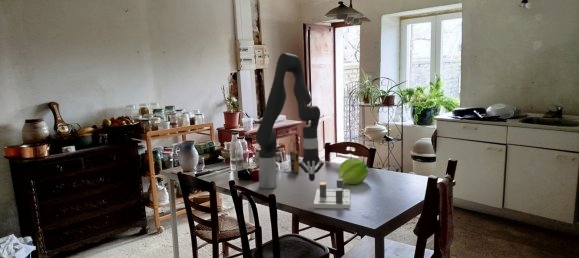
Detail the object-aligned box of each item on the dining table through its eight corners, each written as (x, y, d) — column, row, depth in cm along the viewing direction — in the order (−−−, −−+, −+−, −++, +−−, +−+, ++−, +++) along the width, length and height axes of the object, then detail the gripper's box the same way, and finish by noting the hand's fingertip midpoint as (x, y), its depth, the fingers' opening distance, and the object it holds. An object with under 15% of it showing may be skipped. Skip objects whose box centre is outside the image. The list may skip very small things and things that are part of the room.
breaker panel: (313, 207, 191) (313, 203, 191) (317, 192, 213) (316, 189, 213) (349, 208, 189) (349, 204, 189) (349, 193, 210) (349, 189, 210)
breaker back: (336, 192, 206) (336, 180, 205) (337, 189, 210) (336, 178, 209) (342, 192, 206) (342, 180, 205) (342, 189, 210) (342, 178, 209)
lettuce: (355, 195, 214) (332, 193, 224) (376, 176, 229) (354, 175, 240) (348, 170, 210) (325, 169, 221) (370, 153, 225) (348, 153, 236)
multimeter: (277, 170, 258) (276, 140, 255) (291, 168, 262) (291, 138, 259) (287, 176, 245) (286, 144, 242) (302, 173, 249) (301, 142, 246)
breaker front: (335, 202, 191) (335, 190, 190) (336, 200, 194) (335, 188, 193) (342, 203, 190) (342, 190, 189) (342, 200, 194) (342, 188, 193)
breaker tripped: (319, 196, 200) (319, 184, 198) (320, 194, 203) (320, 182, 202) (326, 197, 199) (325, 184, 198) (326, 194, 203) (326, 182, 202)
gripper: (324, 144, 201) (325, 178, 204) (298, 145, 203) (299, 178, 206) (323, 148, 194) (325, 182, 196) (296, 148, 195) (297, 183, 198)
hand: (311, 180), depth 201 cm, fingers closed
